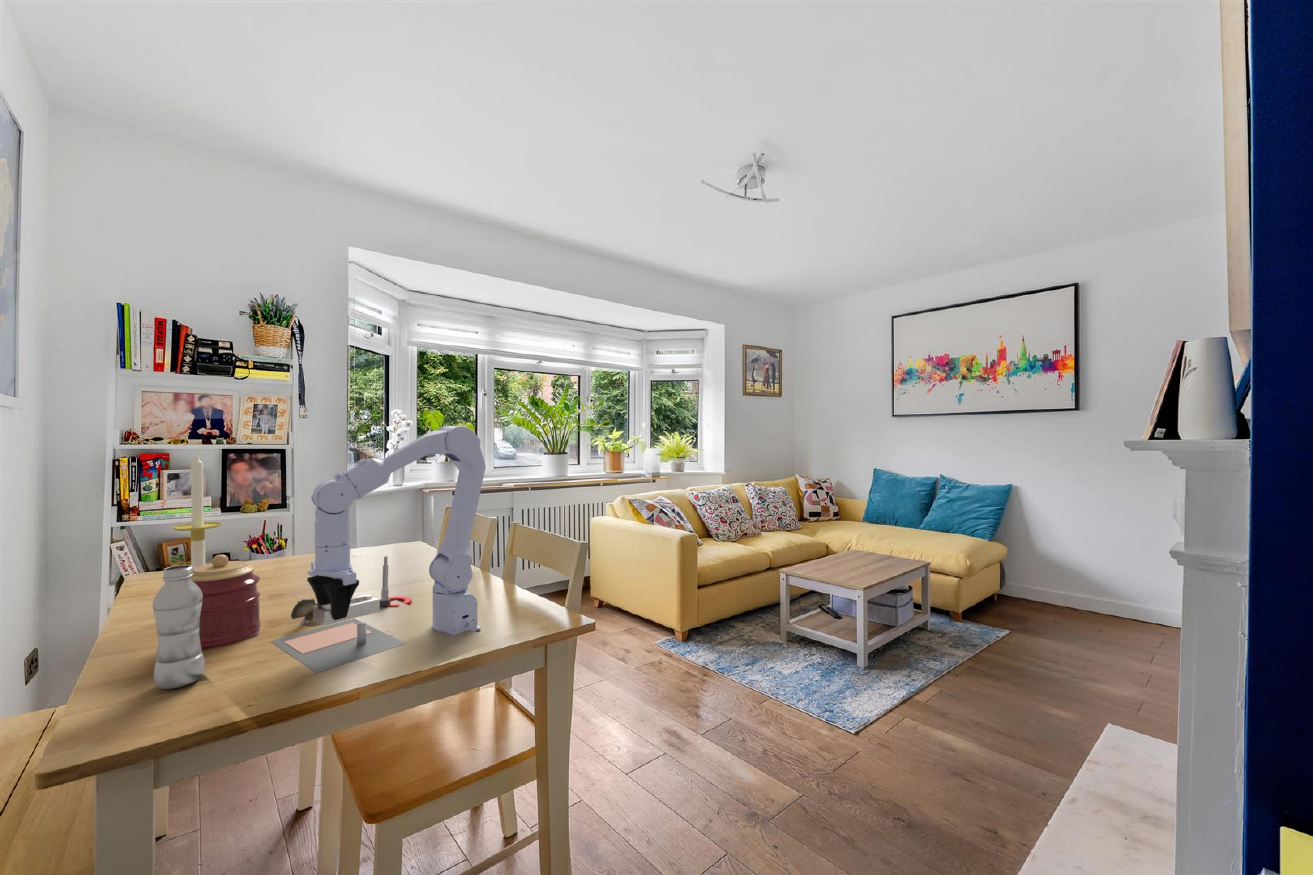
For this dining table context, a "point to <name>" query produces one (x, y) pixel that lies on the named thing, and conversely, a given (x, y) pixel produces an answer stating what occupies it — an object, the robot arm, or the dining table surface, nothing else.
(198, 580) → the canister
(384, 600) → the tow hook
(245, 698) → the dining table surface
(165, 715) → the dining table surface
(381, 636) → the post board
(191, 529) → the candle
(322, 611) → the c link
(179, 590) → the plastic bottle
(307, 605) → the eagle figurine
